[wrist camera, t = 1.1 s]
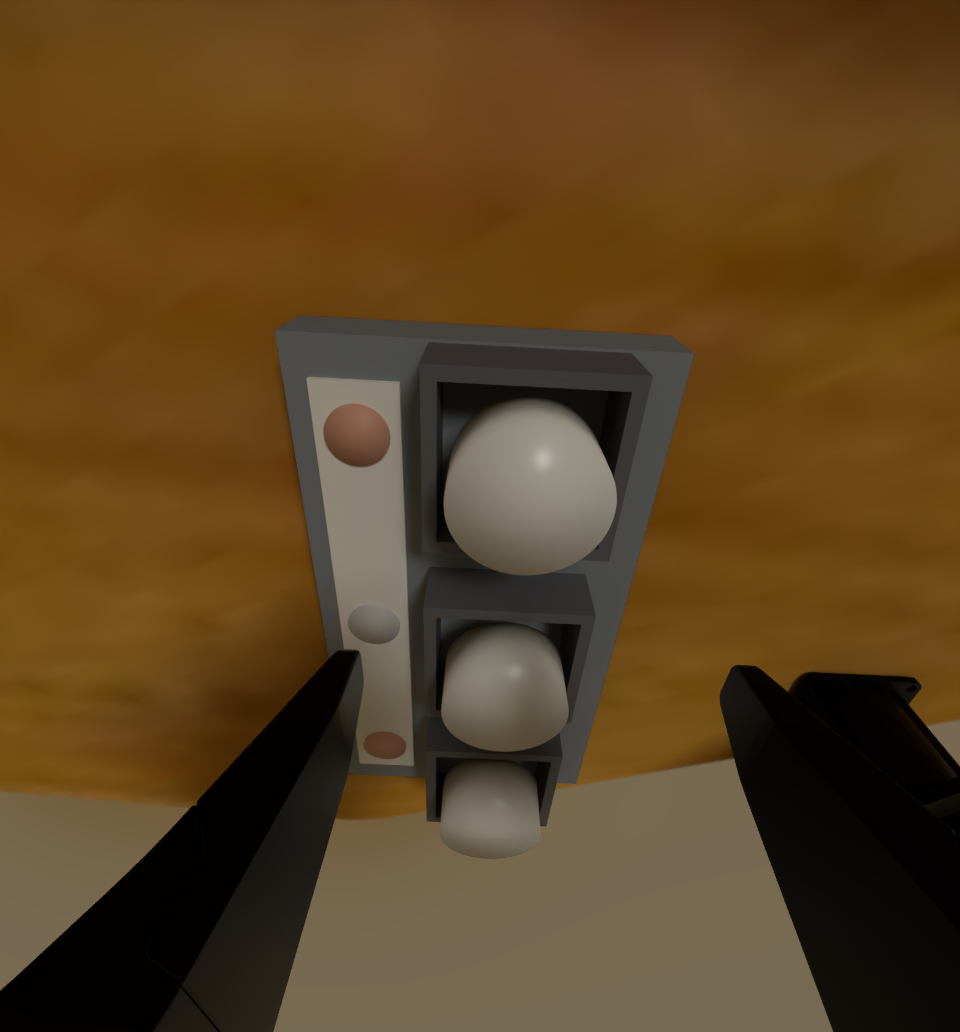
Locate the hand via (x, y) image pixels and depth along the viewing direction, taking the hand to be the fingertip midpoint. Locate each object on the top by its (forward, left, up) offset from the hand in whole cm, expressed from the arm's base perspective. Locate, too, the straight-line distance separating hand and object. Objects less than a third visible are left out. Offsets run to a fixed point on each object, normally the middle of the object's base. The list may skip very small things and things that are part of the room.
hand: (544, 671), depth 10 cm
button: (0, 0, -8) cm, 8 cm away
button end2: (0, +19, -8) cm, 21 cm away
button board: (+1, +9, -13) cm, 16 cm away
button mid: (0, +9, -8) cm, 12 cm away
